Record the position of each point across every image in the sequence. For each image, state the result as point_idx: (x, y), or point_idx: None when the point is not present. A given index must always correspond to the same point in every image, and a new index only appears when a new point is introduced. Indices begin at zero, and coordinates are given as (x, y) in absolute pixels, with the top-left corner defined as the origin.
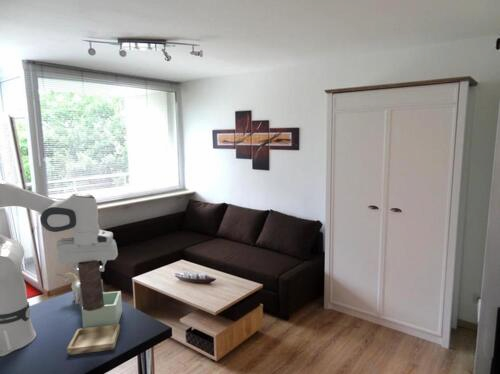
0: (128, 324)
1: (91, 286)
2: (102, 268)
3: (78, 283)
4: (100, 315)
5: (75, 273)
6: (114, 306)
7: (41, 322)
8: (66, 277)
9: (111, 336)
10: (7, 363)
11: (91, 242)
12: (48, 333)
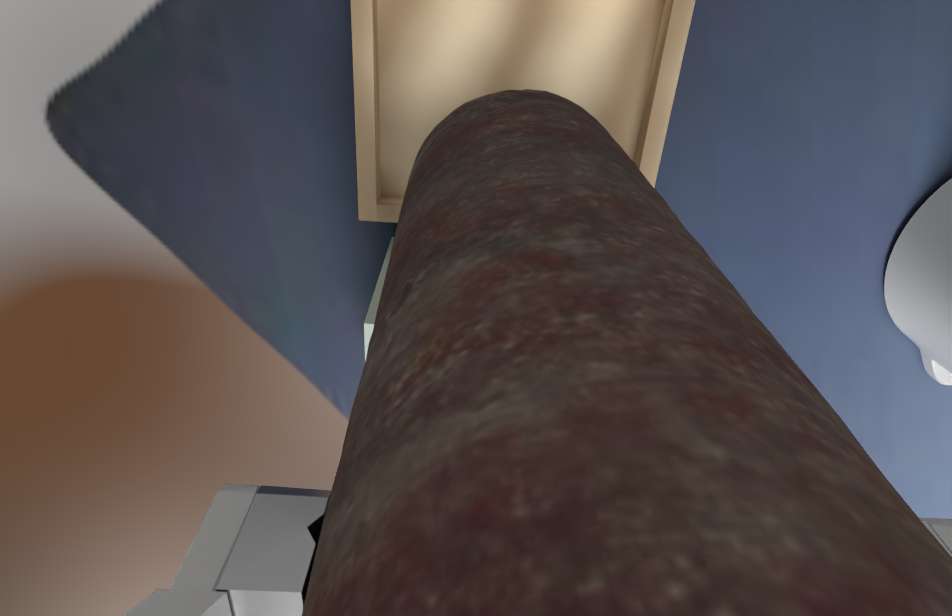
0: (323, 254)
1: (518, 194)
2: (205, 558)
3: None
4: None
5: (945, 524)
6: (375, 317)
7: (848, 407)
8: None
9: (401, 108)
10: None
11: None
12: (811, 284)
